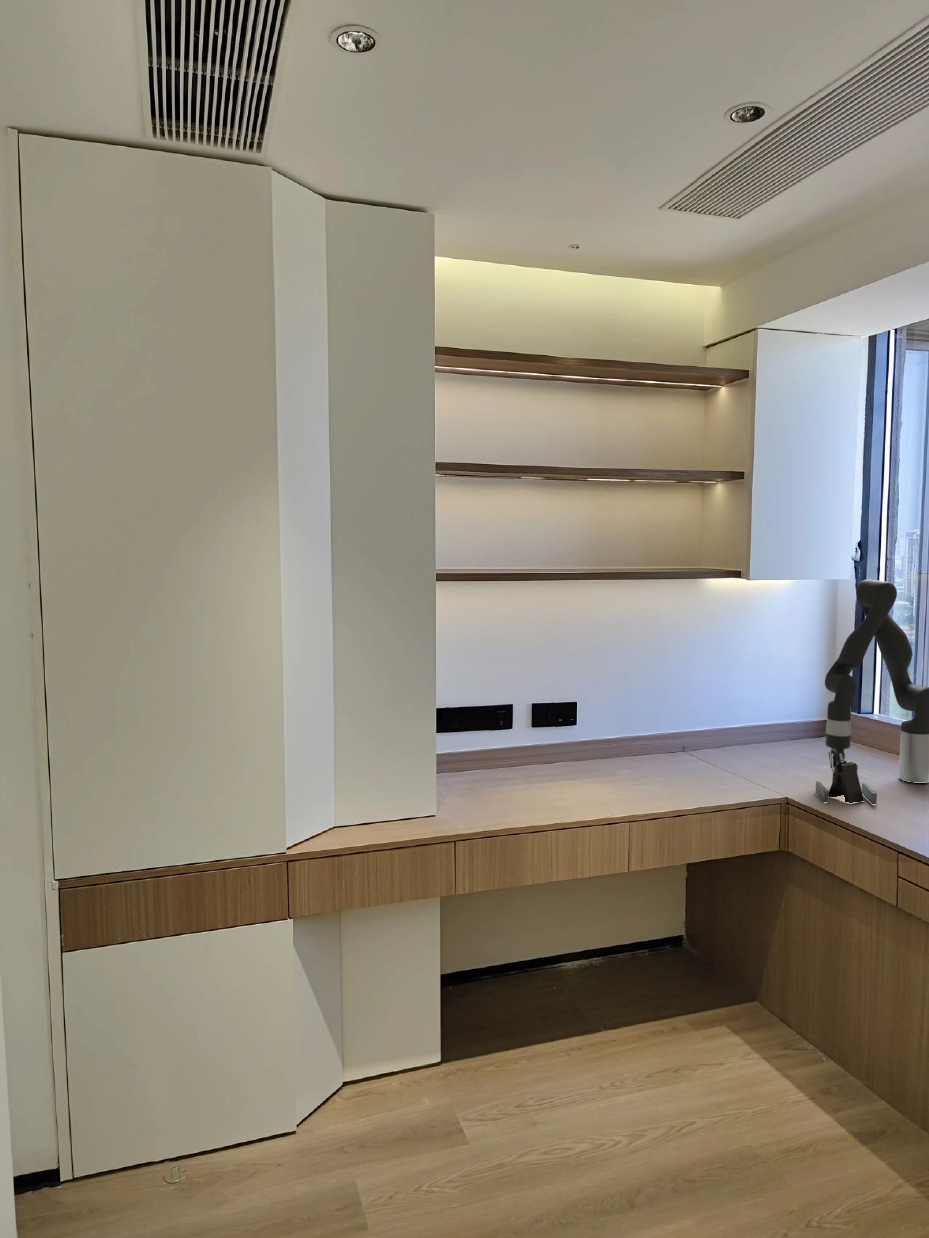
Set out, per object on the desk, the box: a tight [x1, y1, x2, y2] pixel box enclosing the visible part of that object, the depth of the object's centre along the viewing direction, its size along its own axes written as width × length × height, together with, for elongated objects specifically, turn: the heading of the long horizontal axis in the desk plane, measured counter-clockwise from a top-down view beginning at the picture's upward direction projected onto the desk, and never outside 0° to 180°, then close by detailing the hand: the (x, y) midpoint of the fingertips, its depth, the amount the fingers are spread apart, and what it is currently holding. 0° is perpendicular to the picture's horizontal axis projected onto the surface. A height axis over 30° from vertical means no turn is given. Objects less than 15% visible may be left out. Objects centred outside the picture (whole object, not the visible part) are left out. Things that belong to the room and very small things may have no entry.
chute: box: [815, 780, 878, 805], centre depth 263 cm, size 11×15×4 cm
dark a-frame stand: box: [828, 761, 865, 803], centre depth 262 cm, size 9×6×12 cm, turn 22°
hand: (836, 783), depth 273 cm, fingers closed
